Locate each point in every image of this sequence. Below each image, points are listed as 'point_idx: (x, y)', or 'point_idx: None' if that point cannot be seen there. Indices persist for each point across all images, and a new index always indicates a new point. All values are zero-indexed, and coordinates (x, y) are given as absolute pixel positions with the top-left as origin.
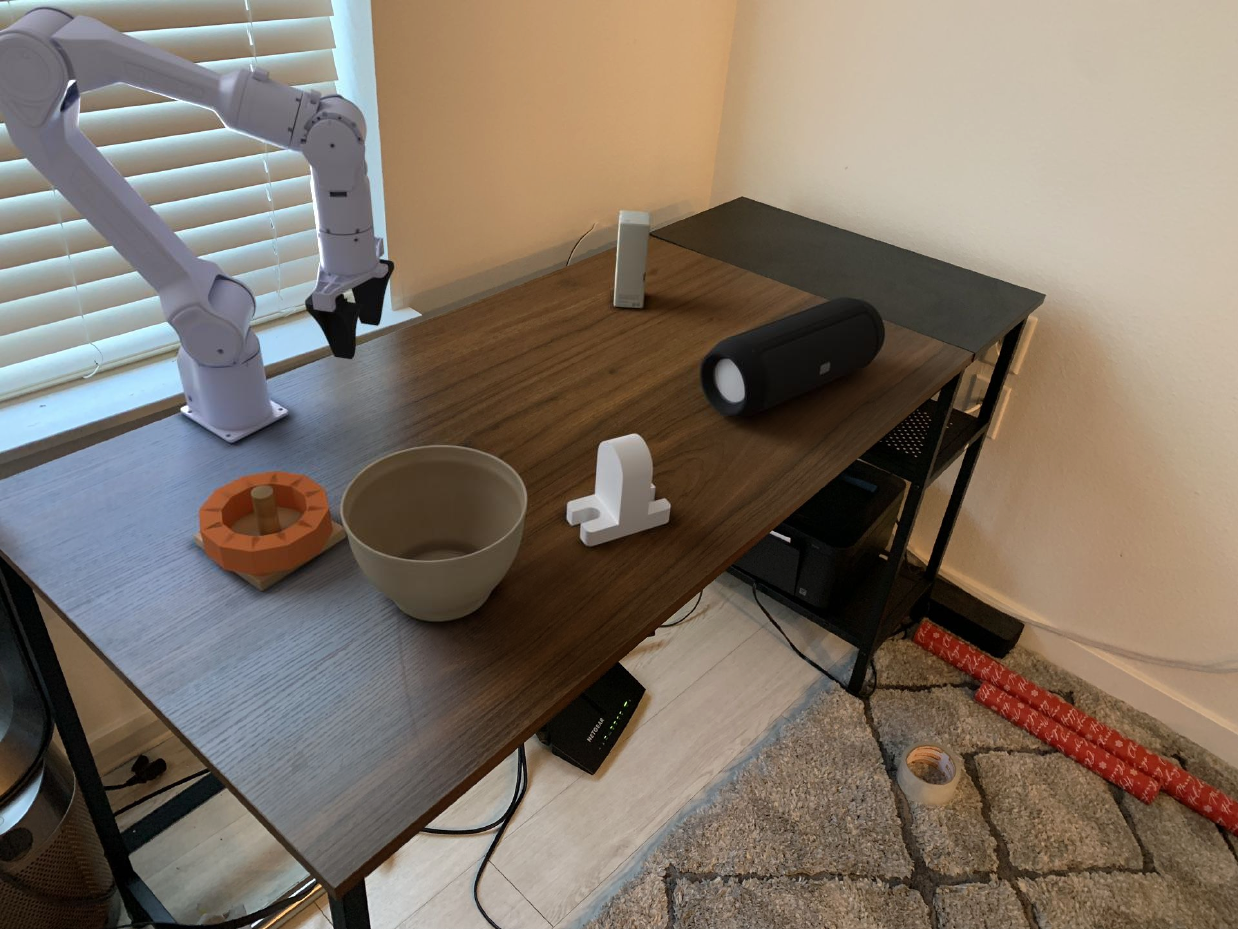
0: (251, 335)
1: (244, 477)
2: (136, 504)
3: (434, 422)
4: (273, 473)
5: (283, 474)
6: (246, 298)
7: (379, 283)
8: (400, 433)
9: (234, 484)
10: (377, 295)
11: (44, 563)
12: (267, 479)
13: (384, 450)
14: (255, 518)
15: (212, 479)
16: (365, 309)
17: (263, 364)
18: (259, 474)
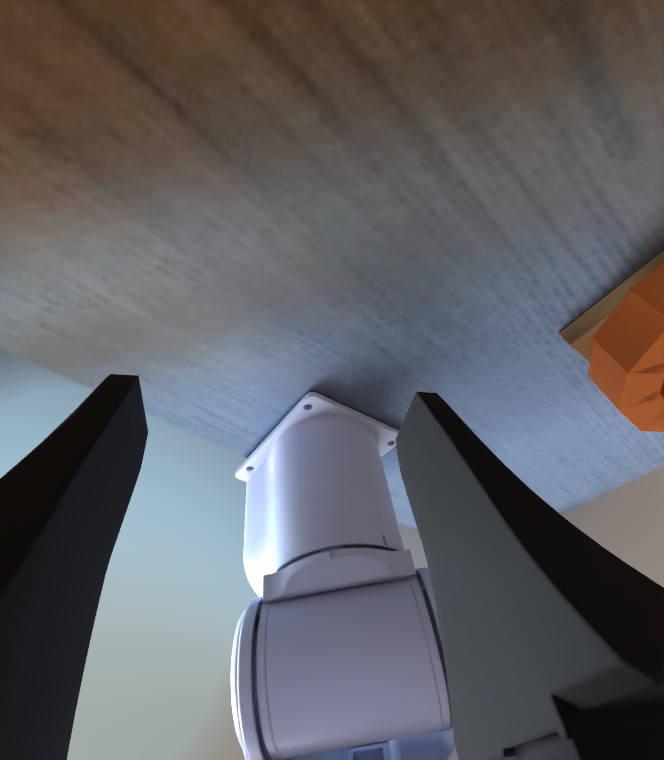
0: (308, 581)
1: (625, 408)
2: (520, 468)
3: (292, 4)
4: (635, 374)
5: (647, 358)
6: (292, 693)
7: (12, 619)
8: (364, 131)
9: (639, 414)
10: (64, 520)
11: (595, 491)
12: (650, 377)
13: (443, 164)
14: None
15: (487, 423)
16: (120, 475)
17: (314, 505)
18: (628, 392)
